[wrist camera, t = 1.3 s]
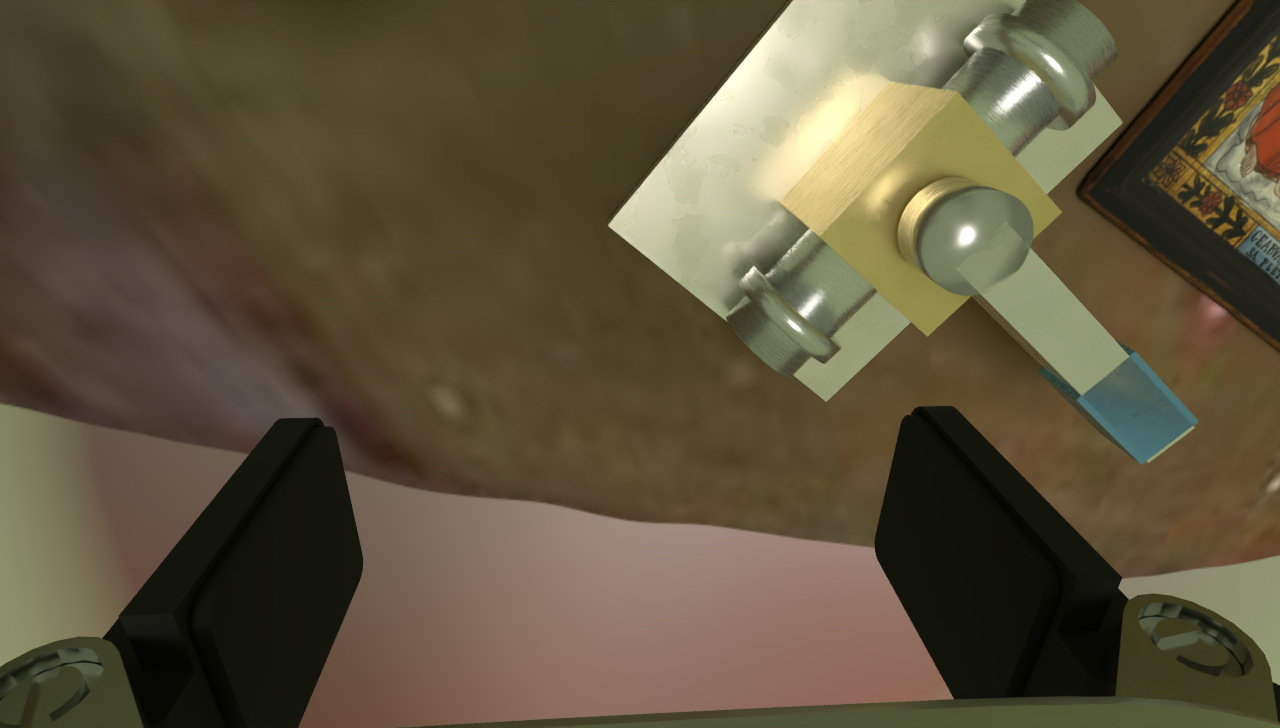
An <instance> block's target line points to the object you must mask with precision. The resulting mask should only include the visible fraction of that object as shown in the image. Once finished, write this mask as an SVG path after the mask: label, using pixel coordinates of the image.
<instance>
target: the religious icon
mask: <svg viewBox="0 0 1280 728" xmlns="http://www.w3.org/2000/svg"><path fill="white" fill-rule="evenodd" d="M1077 194H1078V196H1079V197H1080V198H1081V199H1082V200H1083V201H1085V202H1086V203H1087V204H1089V205H1090V206H1091V207H1093V208H1094V209H1095V210H1097V211H1098V212H1099V213H1101V214H1102V215H1103V216H1105V217H1106V218H1107V219H1108V220H1109V221H1111V222H1112V223H1113V224H1115V225H1116V226H1117V227H1118V228H1120V229H1121V230H1122V231H1124V232H1125V233H1126V234H1128V235H1129V236H1130V237H1132V238H1133V239H1134V240H1136V241H1137V242H1138V243H1139V244H1141V245H1142V246H1144V247H1145V248H1146V249H1148V250H1149V251H1150V252H1151V253H1153V254H1154V255H1155V256H1157V257H1158V258H1159V259H1160V260H1161V261H1162V262H1164V263H1165V264H1166V265H1167V266H1168V267H1170V268H1171V269H1172V270H1173V271H1175V272H1176V273H1177V274H1178V275H1180V276H1181V277H1183V278H1184V279H1185V280H1187V281H1188V282H1190V283H1191V284H1193V285H1194V286H1196V287H1197V288H1198V289H1200V290H1201V291H1202V292H1204V293H1205V294H1206V295H1207V296H1209V297H1210V298H1211V299H1212V300H1214V301H1215V302H1216V303H1218V304H1219V305H1220V306H1221V307H1223V308H1224V309H1226V310H1227V311H1228V312H1230V313H1231V314H1233V315H1234V316H1235V317H1236V318H1237V319H1239V320H1240V321H1241V322H1243V323H1244V324H1245V325H1246V326H1247V327H1249V328H1250V329H1251V330H1253V331H1254V332H1255V333H1256V334H1257V335H1258V336H1260V337H1261V338H1262V339H1264V340H1265V341H1266V342H1267V343H1268V344H1270V345H1271V346H1272V347H1274V348H1275V349H1276V350H1277V351H1278V352H1280V0H1238V1H1237V3H1236V4H1235V5H1234V6H1233V7H1232V8H1231V10H1230V11H1229V12H1228V13H1227V14H1226V15H1225V16H1224V18H1223V19H1222V20H1221V21H1220V22H1219V24H1218V25H1217V26H1216V27H1215V28H1214V29H1213V31H1212V32H1211V33H1210V34H1209V35H1208V37H1207V38H1206V39H1205V40H1204V41H1203V42H1202V43H1201V45H1200V46H1199V47H1198V48H1197V49H1196V50H1195V52H1194V53H1193V54H1192V55H1191V56H1190V58H1189V59H1188V60H1187V61H1186V62H1185V63H1184V64H1183V66H1182V67H1181V68H1180V69H1179V70H1178V72H1177V73H1176V74H1175V75H1174V76H1173V77H1172V78H1171V80H1170V81H1169V82H1168V83H1167V84H1166V85H1165V87H1164V88H1163V89H1162V90H1161V91H1160V92H1159V94H1158V95H1157V96H1156V97H1155V98H1154V99H1153V101H1152V102H1151V103H1150V104H1149V105H1148V106H1147V107H1146V109H1145V110H1144V111H1143V112H1142V113H1141V114H1140V116H1139V117H1138V118H1137V119H1136V120H1135V121H1134V122H1133V124H1132V125H1131V126H1130V127H1129V128H1128V130H1127V131H1126V132H1125V133H1124V134H1123V135H1122V137H1121V138H1120V139H1119V140H1118V141H1117V142H1116V144H1115V145H1114V146H1113V147H1112V148H1111V149H1110V150H1109V152H1108V153H1107V154H1106V155H1105V156H1104V157H1103V159H1102V160H1101V161H1100V162H1099V163H1098V164H1097V166H1096V167H1095V168H1094V169H1093V170H1092V171H1091V173H1090V174H1089V175H1088V176H1087V177H1086V178H1085V180H1084V181H1083V182H1082V183H1081V185H1080V186H1079V188H1078V190H1077Z"/></svg>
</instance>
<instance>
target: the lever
mask: <svg viewBox="0 0 1280 728" xmlns="http://www.w3.org/2000/svg"><path fill="white" fill-rule="evenodd" d="M1033 235H1034V226H1033V220H1032V217H1031V214H1030V212H1029V210H1028V208H1027V207H1026V206H1025V204H1024V203H1023V202H1022V201H1020V200H1019V199H1018V198H1016V197H1015V196H1013V195H1010V194H1008V193H1005V192H1003V191H1000V190H997V189H995V188H992V187H989V186H987V185H984V184H981V183H979V182H976V181H973V180H971V179H967V178H962V177H950V178H945V179H941V180H938V181H936V182H934V183H932V184H930V185H928V186H926V187H925V188H924V189H922V190H921V191H920V192H919V193H917V194H916V195H915V196H914V197H913V199H912V200H911V201H910V202H909V204H908V205H907V206H906V208H905V210H904V212H903V214H902V216H901V219H900V222H899V226H898V236H897V238H898V245H899V249H900V251H901V254H902V256H903V257H904V259H905V260H906V261H907V262H908V263H909V264H910V265H911V266H912V267H914V268H915V269H917V270H918V271H919V272H921V273H922V274H924V275H925V276H926V277H928V278H929V279H931V280H932V281H933V282H935V283H936V284H938V285H939V286H940V287H942V288H943V289H945V290H947V291H948V292H951V293H953V294H957V295H964V296H972V297H973V298H974V299H975V300H976V301H977V302H978V303H979V304H980V305H981V306H982V307H983V308H984V309H985V310H986V311H987V312H988V313H989V314H990V315H991V316H992V317H993V318H994V319H995V320H996V321H997V322H998V323H999V324H1000V325H1001V326H1002V327H1003V328H1004V329H1005V330H1006V331H1007V332H1008V333H1009V334H1010V335H1011V336H1012V337H1013V338H1014V339H1015V340H1016V341H1017V342H1018V343H1019V344H1020V345H1021V346H1022V347H1023V348H1024V349H1025V350H1026V351H1027V352H1028V353H1029V354H1030V355H1031V356H1032V357H1033V358H1034V359H1035V360H1036V361H1037V362H1038V363H1039V364H1040V365H1041V366H1042V368H1041V369H1039V370H1038V372H1039V373H1040V374H1041V375H1042V376H1043V377H1044V378H1045V379H1046V380H1047V381H1048V382H1049V383H1050V384H1051V385H1052V386H1053V387H1054V388H1055V389H1056V390H1057V391H1058V392H1059V393H1060V394H1061V395H1062V396H1063V397H1064V398H1065V399H1066V400H1067V401H1068V402H1069V403H1070V404H1071V405H1072V406H1073V407H1074V408H1075V409H1076V410H1077V411H1078V412H1079V413H1080V414H1081V415H1082V416H1083V417H1084V418H1085V419H1086V420H1087V421H1089V422H1090V423H1091V424H1092V425H1093V426H1094V427H1095V428H1096V429H1097V430H1098V431H1099V432H1100V433H1101V434H1102V435H1103V436H1105V437H1106V438H1107V439H1109V440H1110V441H1111V442H1112V443H1114V444H1115V445H1116V446H1118V447H1119V448H1120V449H1121V450H1123V451H1124V452H1125V453H1127V454H1128V455H1129V456H1131V457H1132V458H1133V459H1134V460H1136V461H1137V462H1138V463H1140V464H1141V465H1142V464H1143V463H1144V462H1146V461H1147V462H1148V463H1149V462H1150V461H1152V460H1153V459H1154V458H1156V457H1157V456H1158V455H1160V454H1161V453H1162V452H1164V451H1165V450H1166V449H1168V448H1169V447H1170V446H1172V445H1173V444H1174V443H1176V442H1177V441H1178V440H1180V439H1181V438H1182V437H1184V436H1185V435H1186V434H1188V433H1189V432H1190V431H1191V430H1193V429H1194V428H1195V427H1194V426H1193V425H1195V424H1196V423H1197V422H1199V421H1198V420H1197V419H1196V418H1195V417H1194V416H1193V415H1192V413H1191V412H1190V411H1189V410H1188V409H1187V408H1186V407H1185V406H1184V405H1183V403H1182V402H1181V401H1180V400H1179V399H1178V398H1177V397H1176V396H1175V395H1174V394H1173V392H1172V391H1171V390H1170V389H1169V388H1168V387H1167V386H1166V385H1165V384H1164V383H1163V381H1162V380H1161V379H1160V378H1159V377H1158V376H1157V375H1156V374H1155V373H1154V371H1153V370H1152V369H1151V368H1150V367H1149V366H1148V365H1147V364H1146V363H1145V362H1144V360H1143V359H1142V358H1141V357H1140V356H1139V355H1138V354H1137V353H1136V352H1135V351H1133V350H1132V349H1130V348H1128V347H1127V346H1125V345H1123V344H1121V343H1120V342H1118V341H1116V340H1114V339H1113V337H1112V336H1111V335H1110V334H1109V333H1108V332H1107V331H1106V330H1105V329H1104V328H1103V327H1102V325H1101V324H1100V323H1099V322H1098V321H1097V320H1096V319H1095V318H1094V317H1093V316H1092V314H1091V313H1090V312H1089V311H1088V310H1087V309H1086V308H1085V307H1084V306H1083V305H1082V304H1081V302H1080V301H1079V300H1078V299H1077V298H1076V297H1075V296H1074V295H1073V294H1072V293H1071V292H1070V290H1069V289H1068V288H1067V287H1066V286H1065V285H1064V284H1063V283H1062V282H1061V281H1060V280H1059V278H1058V277H1057V276H1056V275H1055V274H1054V273H1053V272H1052V271H1051V270H1050V269H1049V268H1048V266H1047V265H1046V264H1045V263H1044V262H1043V261H1042V260H1041V259H1040V258H1039V257H1038V256H1037V254H1036V253H1035V252H1034V251H1033V250H1032V249H1031V245H1032V241H1033Z"/></svg>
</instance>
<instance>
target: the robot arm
mask: <svg viewBox="0 0 1280 728" xmlns="http://www.w3.org/2000/svg"><path fill="white" fill-rule="evenodd" d="M875 552H876V556H877V559H878V561H879V563H880V565H881V567H882V569H883V571H884V572H885V574H886V576H887V578H888V580H889V581H890V583H891V585H892V587H893V589H894V590H895V592H896V594H897V596H898V598H899V600H900V601H901V603H902V605H903V607H904V609H905V610H906V612H907V614H908V616H909V617H910V620H911V621H912V623H913V625H914V627H915V629H916V631H917V632H918V634H919V636H920V638H921V639H922V641H923V643H924V645H925V647H926V649H927V651H928V652H929V654H930V656H931V658H932V659H933V661H934V663H935V665H936V667H937V669H938V671H939V672H940V674H941V676H942V677H943V680H944V681H945V683H946V685H947V687H948V688H949V691H950V692H951V694H952V696H953V698H954V699H953V700H952V699H951V700H928V701H906V702H886V703H885V702H884V703H862V704H839V705H819V706H818V705H817V706H794V707H773V708H754V709H733V710H714V711H693V712H674V713H654V714H636V715H635V714H634V715H616V716H596V717H577V718H558V719H541V720H540V719H539V720H522V721H506V722H487V723H469V724H451V725H433V726H416V727H398V728H1280V685H1277V684H1276V683H1273V682H1272V677H1271V670H1270V667H1269V664H1268V662H1267V659H1266V657H1265V654H1264V653H1263V652H1262V650H1261V649H1260V648H1259V647H1258V646H1257V644H1256V643H1255V642H1254V641H1253V639H1251V638H1250V637H1249V636H1248V635H1247V634H1246V633H1244V632H1243V631H1242V630H1241V629H1239V628H1238V627H1237V626H1236V625H1235V624H1233V623H1232V622H1230V621H1228V620H1227V619H1225V618H1223V617H1222V616H1220V615H1219V614H1217V613H1215V612H1213V611H1211V610H1209V609H1207V608H1204V607H1202V606H1200V605H1198V604H1196V603H1193V602H1191V601H1187V600H1184V599H1181V598H1177V597H1174V596H1169V595H1161V594H1146V595H1145V594H1144V595H1138V596H1136V597H1134V598H1132V599H1130V600H1129V599H1128V598H1127V597H1126V596H1125V595H1124V594H1123V593H1122V592H1121V591H1120V590H1119V589H1118V586H1119V584H1120V582H1121V580H1122V577H1121V576H1120V575H1119V574H1118V573H1117V572H1116V571H1115V570H1114V569H1113V568H1112V567H1111V566H1110V565H1109V564H1108V563H1107V562H1106V561H1105V560H1104V559H1103V558H1102V557H1101V556H1100V554H1099V553H1098V552H1097V551H1096V550H1095V549H1094V548H1093V547H1092V546H1091V545H1090V544H1089V543H1088V542H1087V541H1086V540H1085V539H1084V538H1083V537H1082V536H1081V535H1080V534H1079V533H1078V532H1077V531H1076V530H1075V529H1074V528H1073V527H1072V526H1071V525H1070V524H1069V523H1068V522H1067V521H1066V520H1065V519H1064V518H1063V517H1062V516H1061V515H1060V514H1059V513H1058V512H1057V511H1056V510H1055V509H1054V508H1053V507H1052V506H1051V505H1050V504H1049V503H1048V502H1047V501H1046V500H1045V499H1044V498H1043V496H1042V495H1041V494H1040V493H1039V492H1038V491H1037V490H1036V489H1035V488H1034V487H1033V486H1032V485H1031V484H1030V483H1029V482H1028V481H1027V480H1026V479H1025V478H1024V477H1023V476H1022V475H1021V474H1020V473H1019V472H1018V471H1017V470H1016V469H1015V468H1014V467H1013V466H1012V465H1011V464H1010V463H1009V462H1008V461H1007V460H1006V459H1005V458H1004V457H1003V456H1002V455H1001V454H1000V453H999V452H998V451H997V450H996V449H995V448H994V447H993V446H992V445H991V444H990V443H989V442H988V441H987V440H986V438H985V437H984V436H983V435H982V434H981V433H980V432H979V431H978V430H977V429H976V428H975V427H974V426H973V425H972V424H971V423H970V422H969V421H968V420H967V419H966V418H965V417H964V416H963V415H962V414H961V413H960V412H959V411H958V410H957V409H956V408H954V407H953V406H923V407H917V408H915V409H914V410H913V412H912V413H911V415H907V416H905V417H904V418H903V419H902V422H901V425H900V430H899V434H898V439H897V443H896V448H895V452H894V456H893V461H892V465H891V470H890V474H889V478H888V483H887V487H886V492H885V496H884V500H883V505H882V509H881V514H880V518H879V523H878V527H877V531H876V536H875ZM362 570H363V556H362V551H361V546H360V541H359V536H358V532H357V527H356V523H355V518H354V513H353V509H352V504H351V500H350V495H349V490H348V486H347V481H346V476H345V472H344V467H343V463H342V458H341V453H340V449H339V444H338V440H337V435H336V432H335V430H334V428H333V427H331V426H330V427H325V426H324V424H323V422H322V421H321V419H319V418H283V419H279V420H277V421H276V422H275V423H274V425H273V426H272V427H271V428H270V429H269V431H268V432H267V433H266V434H265V436H264V437H263V438H262V439H261V441H260V442H259V443H258V444H257V446H256V447H255V448H254V449H253V451H252V452H251V453H250V454H249V455H248V457H247V458H246V459H245V460H244V462H243V463H242V464H241V465H240V467H239V468H238V469H237V470H236V472H235V473H234V474H233V475H232V476H231V478H230V479H229V480H228V481H227V483H226V484H225V485H224V486H223V488H222V489H221V490H220V491H219V493H218V494H217V495H216V496H215V497H214V499H213V500H212V501H211V502H210V504H209V505H208V506H207V507H206V509H205V510H204V511H203V512H202V514H201V515H200V516H199V517H198V518H197V520H196V521H195V522H194V524H193V525H192V526H191V527H190V529H189V530H188V531H187V532H186V533H185V535H184V536H183V537H182V538H181V540H180V541H179V542H178V543H177V544H176V546H175V547H174V548H173V549H172V551H171V552H170V553H169V554H168V556H167V557H166V558H165V559H164V561H163V562H162V563H161V564H160V565H159V567H158V568H157V569H156V570H155V572H154V573H153V574H152V575H151V577H150V578H149V579H148V580H147V582H146V583H145V584H144V585H143V587H142V588H141V589H140V590H139V591H138V593H137V594H136V595H135V596H134V598H133V599H132V600H131V602H130V603H129V604H128V605H127V606H126V607H125V609H124V610H123V611H122V612H121V614H120V615H119V618H118V620H117V621H116V622H115V623H114V625H113V626H112V627H111V629H110V630H109V631H108V632H107V633H106V635H105V636H104V637H103V638H99V637H75V638H69V639H64V640H59V641H55V642H52V643H50V644H47V645H44V646H41V647H38V648H35V649H33V650H31V651H28V652H27V653H25V654H23V655H21V656H19V657H17V658H15V659H13V660H11V661H9V662H7V663H6V664H4V665H3V666H1V667H0V728H298V727H299V724H300V722H301V719H302V717H303V714H304V712H305V710H306V707H307V705H308V703H309V700H310V698H311V696H312V693H313V691H314V688H315V686H316V684H317V681H318V679H319V676H320V674H321V672H322V669H323V667H324V664H325V662H326V659H327V657H328V655H329V653H330V650H331V648H332V645H333V643H334V641H335V638H336V636H337V634H338V631H339V629H340V626H341V624H342V622H343V619H344V617H345V614H346V612H347V610H348V607H349V605H350V602H351V600H352V598H353V595H354V593H355V591H356V588H357V586H358V583H359V581H360V578H361V575H362Z"/></svg>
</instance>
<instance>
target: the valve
mask: <svg viewBox="0 0 1280 728" xmlns="http://www.w3.org/2000/svg"><path fill="white" fill-rule="evenodd" d="M1116 55H1117V51H1116V46H1115V43H1114V40H1113V38H1112V36H1111V34H1110V33H1109V31H1108V30H1107V28H1106V27H1105V26H1104V25H1103V23H1102V22H1101V21H1100V20H1099V19H1098V18H1097V17H1096V16H1095V15H1094V14H1093V13H1092V12H1090V11H1089V10H1088V9H1087V8H1085V7H1084V6H1083V5H1081V4H1080V3H1078V2H1077V1H1075V0H788V2H787V3H786V4H785V5H784V6H783V8H782V9H781V10H780V11H779V13H778V14H777V15H776V16H775V17H774V19H773V20H772V21H771V22H770V23H769V25H768V26H767V27H766V28H765V30H764V31H763V32H762V33H761V34H760V36H759V37H758V38H757V39H756V41H755V42H754V43H753V44H752V45H751V47H750V48H749V49H748V50H747V51H746V53H745V54H744V55H743V56H742V58H741V59H740V60H739V61H738V62H737V64H736V65H735V66H734V67H733V69H732V70H731V71H730V72H729V73H728V75H727V76H726V77H725V78H724V79H723V81H722V82H721V83H720V84H719V86H718V87H717V88H716V89H715V90H714V92H713V93H712V94H711V95H710V96H709V98H708V99H707V100H706V101H705V103H704V104H703V105H702V106H701V107H700V109H699V110H698V111H697V112H696V114H695V115H694V116H693V117H692V118H691V120H690V121H689V122H688V123H687V124H686V126H685V127H684V128H683V129H682V131H681V132H680V133H679V134H678V135H677V137H676V138H675V139H674V140H673V141H672V143H671V144H670V145H669V146H668V148H667V149H666V150H665V151H664V152H663V154H662V155H661V156H660V157H659V159H658V160H657V161H656V162H655V163H654V165H653V166H652V167H651V168H650V169H649V171H648V172H647V173H646V174H645V176H644V177H643V178H642V179H641V180H640V182H639V183H638V184H637V185H636V186H635V188H634V189H633V190H632V191H631V193H630V194H629V195H628V196H627V197H626V199H625V200H624V201H623V202H622V204H621V205H620V206H619V207H618V208H617V210H616V211H615V212H614V213H613V214H612V216H611V217H610V218H609V219H608V221H607V224H608V226H609V227H610V228H611V229H613V230H614V231H615V232H616V233H618V234H619V235H620V236H621V237H623V238H624V239H625V240H626V241H627V242H629V243H630V244H631V245H632V246H634V247H635V248H636V249H637V250H639V251H640V252H641V253H642V254H644V255H645V256H646V257H647V258H649V259H650V260H651V261H652V262H654V263H655V264H656V265H657V266H658V267H660V268H661V269H662V270H663V271H665V272H666V273H667V274H668V275H670V276H671V277H672V278H673V279H675V280H676V281H677V282H678V283H680V284H681V285H682V286H683V287H685V288H686V289H687V290H688V291H690V292H691V293H692V294H693V295H694V296H696V297H697V298H698V299H699V300H701V301H702V302H703V303H704V304H706V305H707V306H708V307H709V308H711V309H712V310H713V311H714V312H716V313H717V314H718V315H719V316H721V317H722V318H723V319H724V320H725V321H727V322H728V324H729V325H730V327H731V328H732V329H733V331H734V332H735V333H736V334H737V335H738V337H739V338H740V339H741V340H742V341H743V342H744V343H745V344H746V345H747V346H748V347H749V348H750V349H751V350H752V351H753V352H754V353H755V354H756V355H757V356H758V357H759V358H760V359H762V360H763V361H764V362H765V363H766V364H767V365H769V366H770V367H771V368H773V369H774V370H775V371H777V372H778V373H780V374H781V375H783V376H785V377H787V378H791V377H792V376H793V375H794V376H795V377H796V378H797V379H799V380H800V381H801V382H802V383H804V384H805V385H806V386H807V387H809V388H810V389H811V390H812V391H814V392H815V393H816V394H817V395H818V396H820V397H821V398H822V399H823V400H825V401H827V400H829V399H830V398H831V397H832V396H833V395H834V394H835V393H836V392H837V391H838V390H839V389H840V388H841V387H842V386H843V385H845V384H846V383H847V382H848V381H849V380H850V379H851V378H852V377H853V376H854V375H855V374H856V373H857V372H858V371H859V370H860V369H862V368H863V367H864V366H865V365H866V364H867V363H868V362H869V361H870V360H871V359H872V358H873V357H874V356H875V355H876V354H877V353H879V352H880V351H881V350H882V349H883V348H884V347H885V346H886V345H887V344H888V343H889V342H890V341H891V340H892V339H893V338H894V337H896V336H897V335H898V334H899V333H900V332H901V331H902V330H903V329H904V328H905V327H906V326H907V325H908V324H909V323H910V322H911V323H912V324H914V325H915V326H916V327H917V328H918V329H919V330H920V331H921V332H923V333H924V334H925V335H926V336H927V337H928V336H929V335H930V334H931V333H932V332H933V331H934V330H935V329H936V328H937V327H938V326H939V325H941V324H942V323H943V322H944V321H945V320H946V319H947V318H948V317H949V316H950V315H951V314H952V313H954V312H955V311H956V310H957V309H958V308H959V307H960V306H961V305H962V304H963V303H964V302H965V301H967V300H968V299H969V298H970V297H971V296H964V295H957V294H953V293H951V292H948V291H947V290H945V289H943V288H942V287H940V286H939V285H938V284H936V283H935V282H933V281H932V280H931V279H929V278H928V277H926V276H925V275H924V274H922V273H921V272H919V271H918V270H917V269H915V268H914V267H912V266H911V265H910V264H909V263H908V262H907V261H906V260H905V259H904V257H903V256H902V254H901V251H900V249H899V245H898V238H897V236H898V226H899V222H900V219H901V216H902V214H903V212H904V210H905V208H906V206H907V205H908V204H909V202H910V201H911V200H912V199H913V197H914V196H915V195H916V194H917V193H919V192H920V191H921V190H922V189H924V188H925V187H926V186H928V185H930V184H932V183H934V182H936V181H938V180H941V179H945V178H950V177H962V178H967V179H971V180H973V181H976V182H979V183H981V184H984V185H987V186H989V187H992V188H995V189H997V190H1000V191H1003V192H1005V193H1008V194H1010V195H1013V196H1015V197H1016V198H1018V199H1019V200H1020V201H1022V202H1023V203H1024V204H1025V206H1026V207H1027V208H1028V210H1029V212H1030V214H1031V217H1032V220H1033V226H1034V235H1033V239H1034V238H1035V237H1036V236H1037V235H1038V234H1039V233H1040V232H1041V231H1042V230H1043V229H1045V228H1046V227H1047V226H1048V225H1049V224H1050V223H1051V222H1052V221H1053V220H1054V219H1055V218H1056V217H1058V216H1059V215H1060V214H1061V213H1062V212H1061V211H1060V209H1059V208H1058V207H1057V206H1056V205H1055V204H1054V202H1053V201H1052V200H1051V199H1050V198H1049V197H1048V195H1047V194H1048V193H1049V192H1050V191H1051V190H1052V189H1053V188H1054V187H1055V186H1056V185H1057V184H1058V183H1059V182H1060V181H1061V180H1063V179H1064V178H1065V177H1066V176H1067V175H1068V174H1069V173H1070V172H1071V171H1072V170H1073V169H1074V168H1075V167H1076V166H1077V165H1078V164H1080V163H1081V162H1082V161H1083V160H1084V159H1085V158H1086V157H1087V156H1088V155H1089V154H1090V153H1091V152H1092V151H1093V150H1094V149H1095V148H1097V147H1098V146H1099V145H1100V144H1101V143H1102V142H1103V141H1104V140H1105V139H1106V138H1107V137H1108V136H1109V135H1110V134H1111V133H1112V132H1114V131H1115V130H1116V129H1117V128H1118V127H1119V126H1120V125H1121V124H1122V123H1123V122H1122V121H1121V119H1120V118H1119V117H1118V115H1117V114H1116V113H1115V111H1114V110H1113V109H1112V108H1111V106H1110V105H1109V104H1108V102H1107V101H1106V100H1105V98H1104V97H1103V96H1102V94H1101V93H1100V92H1099V90H1098V89H1097V88H1096V87H1095V85H1094V84H1093V82H1094V81H1095V80H1096V79H1097V78H1098V77H1099V76H1100V75H1101V74H1102V73H1103V72H1104V71H1105V70H1106V69H1107V68H1108V67H1109V66H1110V65H1111V64H1112V63H1113V62H1114V61H1115V59H1116Z"/></svg>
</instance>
